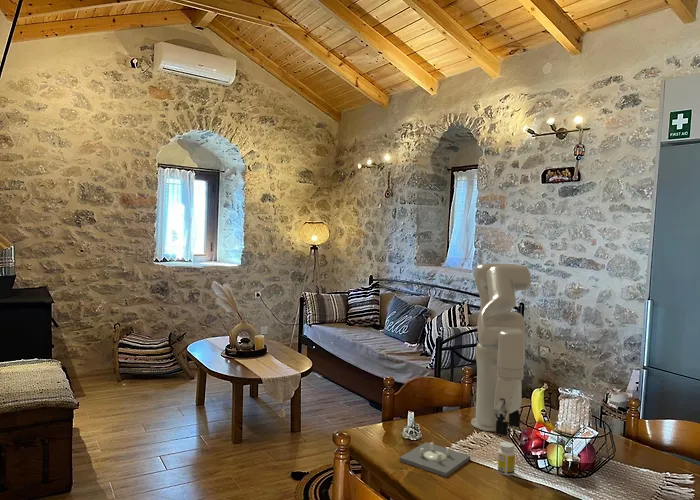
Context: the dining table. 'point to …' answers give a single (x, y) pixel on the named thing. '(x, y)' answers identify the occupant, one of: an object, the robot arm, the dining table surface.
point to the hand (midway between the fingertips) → (508, 430)
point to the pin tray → (435, 459)
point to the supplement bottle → (506, 458)
